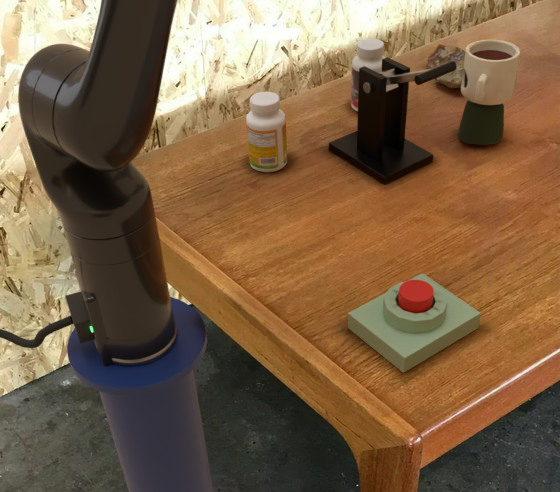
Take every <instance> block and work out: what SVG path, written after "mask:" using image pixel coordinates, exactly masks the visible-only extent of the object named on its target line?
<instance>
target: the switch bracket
mask: <svg viewBox="0 0 560 492" xmlns="http://www.w3.org/2000/svg"><path fill="white" fill-rule="evenodd" d="M388 69H395V73H396V74H402V73H408V72H411V67H409V66H407V65H405V64H403V63H401V62H399V61H397V60H394V59H392V58H390V57H388V56H387V57H386V58H384V59H382V71H383V70H388ZM386 85H387V77H385V76H383V75H381V74H379V73H377V72H375V71H373V70H371V69H369V68H367V67H365V66H364V67H361V68H359V89H358V112H357V124H356V126H357V127H356V128H357V129H356V130H355V131H353V132H351V133H348V134H346V135H344V136H341V137H339V138H337V139H334V140H332V141H329V142H328V151H329V152H330V153H333V154H334V155H335V156H337V157H339V158H340V159H342V160H344V161H345V162H347V163H348V164H350V165H352V166H354V167H355V168H357V169H358V170H360V171H361V172H363V173H365V174H367V175H368V176H369V177H371V178H373V180H376V181H378V182H379V183H381V184H382V185H387V184H389V183H391V182H393V181H396V180H397V179H400V178H402V177H404V176H406V175H408V174H410V173H412V172H414V171H416V170H419V169H421V168H423V167H425V166H427V165H429V164H431V163H433V162H434V154H433V153H432V152H430V151H428V150H426V149H425V148H423V147H421V146H419V145H417V144H415V143H414V142H412V141H410V140H408V139H406V129H407V127H406V126H407V116H408V115H407V112H408V103H409V102H408V101H409V100H408V99H409V90H410V89H409V87H410V82H406V83H399V84H398V86H399V87H397V88H395V89H392V90H390V91H387V92H386Z"/></svg>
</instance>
